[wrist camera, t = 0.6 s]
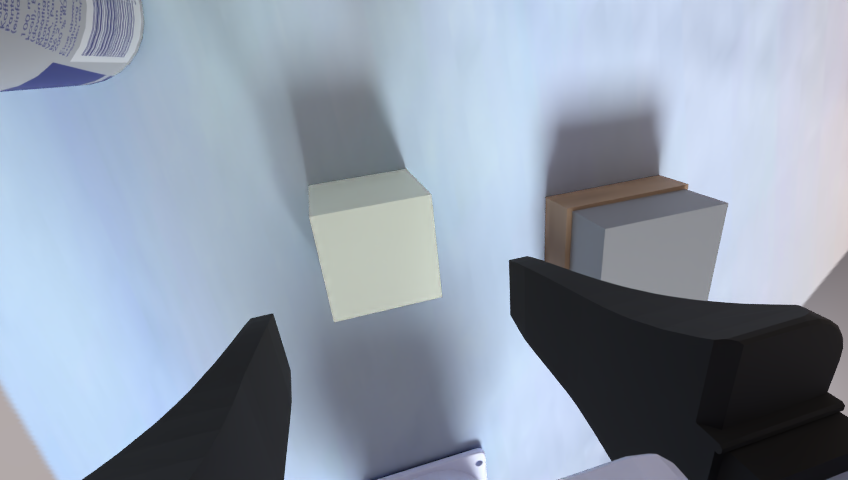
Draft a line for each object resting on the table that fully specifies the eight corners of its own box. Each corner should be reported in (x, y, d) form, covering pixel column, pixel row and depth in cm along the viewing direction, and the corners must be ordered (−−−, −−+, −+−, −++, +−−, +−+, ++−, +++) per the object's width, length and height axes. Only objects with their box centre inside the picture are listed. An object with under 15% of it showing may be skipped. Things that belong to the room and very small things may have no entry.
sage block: (416, 253, 21) (442, 296, 17) (328, 272, 20) (334, 322, 16) (405, 168, 20) (431, 194, 16) (308, 184, 19) (309, 217, 15)
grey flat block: (666, 295, 24) (703, 319, 22) (566, 321, 23) (594, 348, 21) (684, 188, 22) (728, 203, 19) (572, 211, 20) (605, 229, 18)
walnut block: (639, 279, 27) (669, 299, 24) (539, 303, 25) (562, 327, 23) (652, 173, 24) (688, 184, 21) (541, 194, 22) (567, 208, 20)
